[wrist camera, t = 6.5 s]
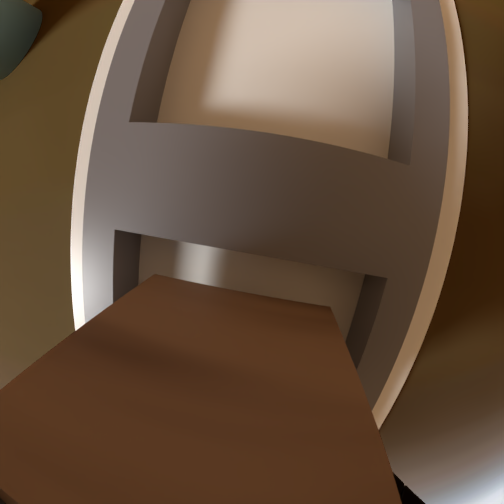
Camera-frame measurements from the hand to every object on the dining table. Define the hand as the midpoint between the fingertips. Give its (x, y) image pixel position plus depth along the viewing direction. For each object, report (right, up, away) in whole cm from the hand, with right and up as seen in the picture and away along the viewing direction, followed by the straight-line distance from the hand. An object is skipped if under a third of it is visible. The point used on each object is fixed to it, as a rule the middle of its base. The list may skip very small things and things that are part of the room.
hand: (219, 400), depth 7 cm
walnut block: (0, 0, +1) cm, 2 cm away
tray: (+1, +6, +2) cm, 6 cm away
